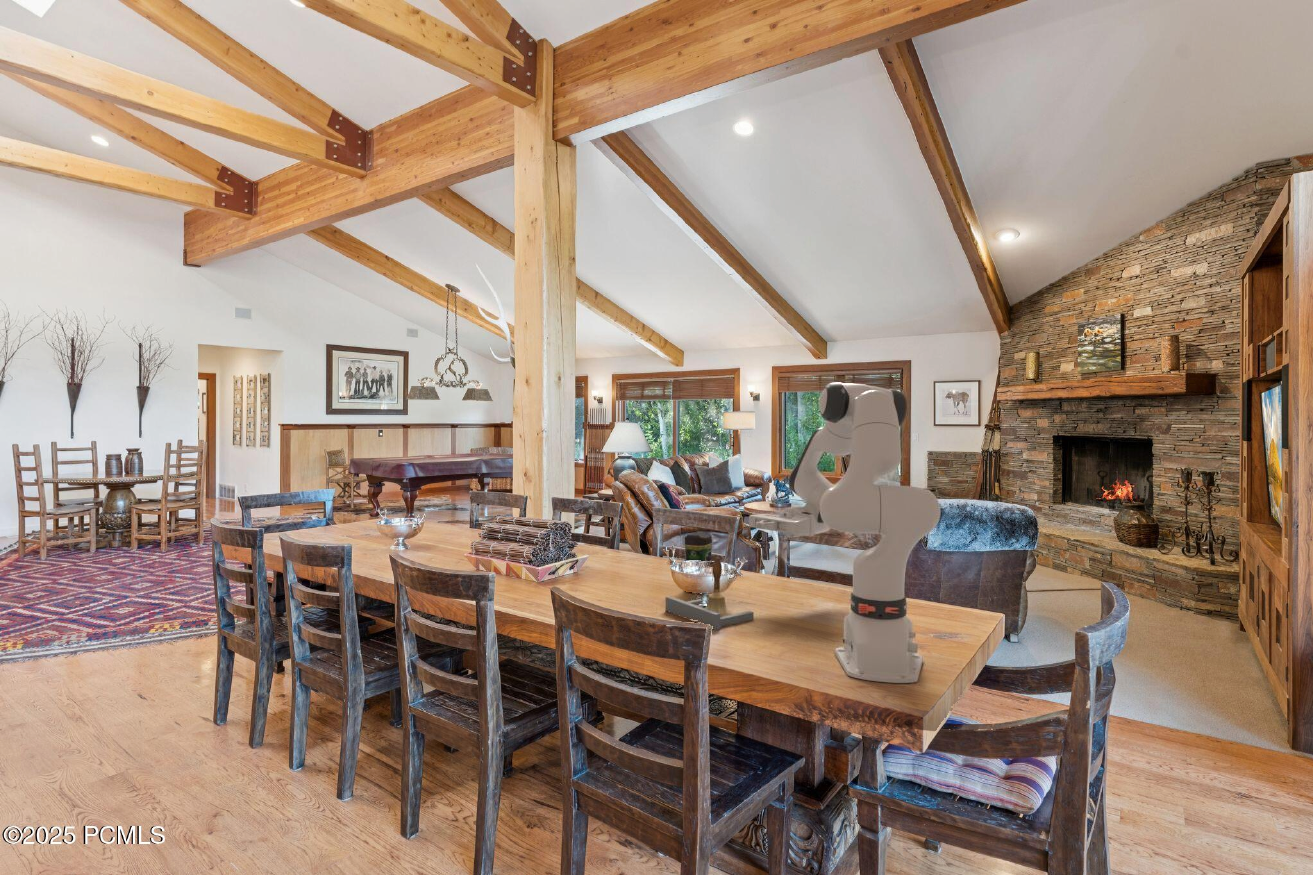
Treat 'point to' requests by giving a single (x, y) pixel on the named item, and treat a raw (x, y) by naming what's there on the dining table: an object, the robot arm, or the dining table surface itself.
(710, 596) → the hand bell
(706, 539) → the coffee jar
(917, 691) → the dining table surface
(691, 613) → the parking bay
